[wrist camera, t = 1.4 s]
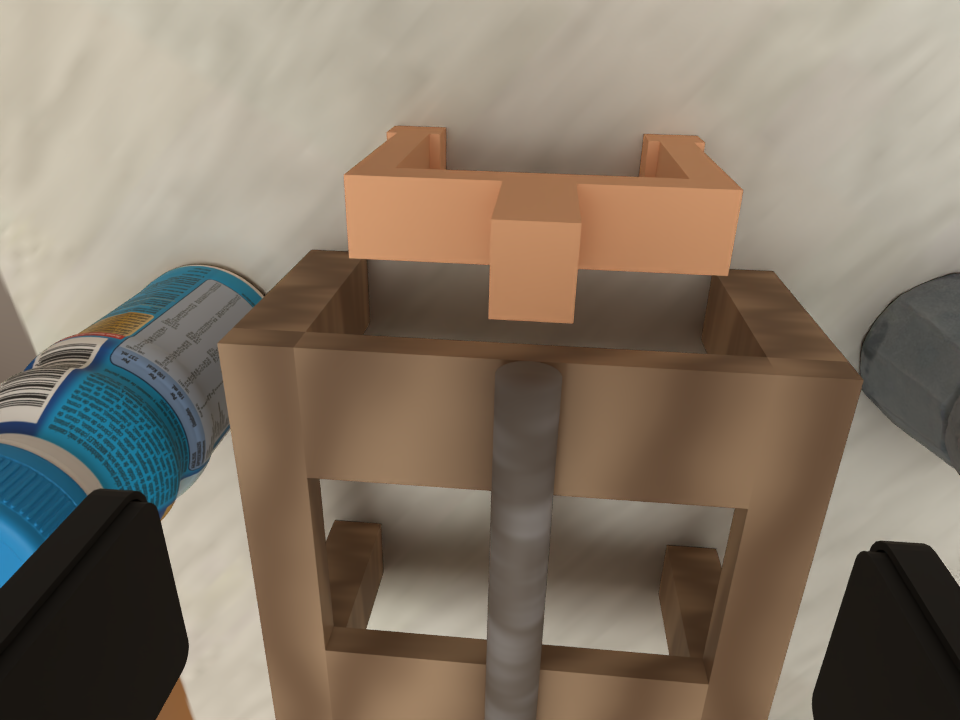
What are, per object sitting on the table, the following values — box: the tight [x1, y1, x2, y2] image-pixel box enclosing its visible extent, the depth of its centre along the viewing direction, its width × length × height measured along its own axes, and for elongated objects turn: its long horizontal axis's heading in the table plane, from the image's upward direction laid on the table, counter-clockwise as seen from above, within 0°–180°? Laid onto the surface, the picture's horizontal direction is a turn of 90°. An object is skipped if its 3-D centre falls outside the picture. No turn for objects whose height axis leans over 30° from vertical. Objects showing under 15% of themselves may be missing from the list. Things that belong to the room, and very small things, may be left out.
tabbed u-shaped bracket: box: [344, 126, 743, 323], centre depth 28 cm, size 14×3×16 cm, turn 89°
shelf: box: [217, 250, 864, 720], centre depth 36 cm, size 24×22×14 cm
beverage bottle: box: [0, 265, 264, 588], centre depth 32 cm, size 8×8×20 cm
